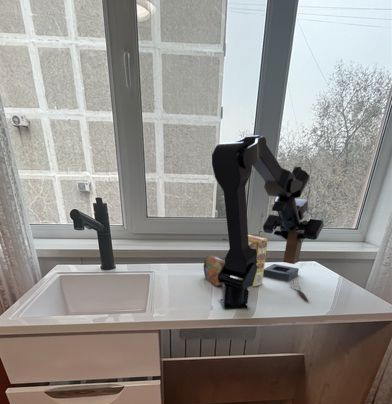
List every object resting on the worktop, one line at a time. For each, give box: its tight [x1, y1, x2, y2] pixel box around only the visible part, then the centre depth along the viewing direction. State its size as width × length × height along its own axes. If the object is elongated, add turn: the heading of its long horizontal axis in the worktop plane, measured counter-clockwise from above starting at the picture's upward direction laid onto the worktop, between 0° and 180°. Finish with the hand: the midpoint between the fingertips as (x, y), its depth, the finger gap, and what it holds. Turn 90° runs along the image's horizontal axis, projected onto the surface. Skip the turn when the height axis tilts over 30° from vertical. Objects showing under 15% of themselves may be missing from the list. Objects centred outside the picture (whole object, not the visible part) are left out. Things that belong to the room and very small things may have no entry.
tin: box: [203, 255, 225, 287], centre depth 97 cm, size 15×3×8 cm, turn 21°
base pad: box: [263, 263, 300, 282], centre depth 107 cm, size 10×10×2 cm
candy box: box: [236, 234, 268, 287], centre depth 96 cm, size 9×4×15 cm, turn 33°
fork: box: [290, 280, 309, 302], centre depth 91 cm, size 3×16×2 cm, turn 178°
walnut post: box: [282, 231, 303, 265], centre depth 100 cm, size 4×4×13 cm
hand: (295, 242), depth 101 cm, fingers closed on walnut post, 4 cm apart
